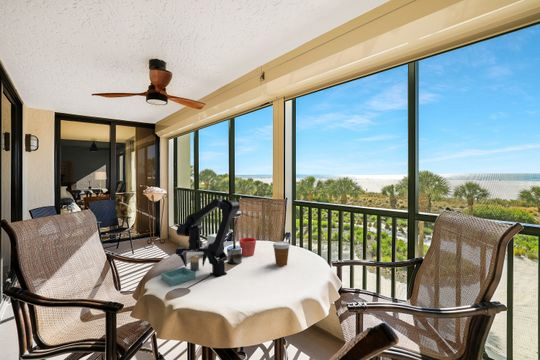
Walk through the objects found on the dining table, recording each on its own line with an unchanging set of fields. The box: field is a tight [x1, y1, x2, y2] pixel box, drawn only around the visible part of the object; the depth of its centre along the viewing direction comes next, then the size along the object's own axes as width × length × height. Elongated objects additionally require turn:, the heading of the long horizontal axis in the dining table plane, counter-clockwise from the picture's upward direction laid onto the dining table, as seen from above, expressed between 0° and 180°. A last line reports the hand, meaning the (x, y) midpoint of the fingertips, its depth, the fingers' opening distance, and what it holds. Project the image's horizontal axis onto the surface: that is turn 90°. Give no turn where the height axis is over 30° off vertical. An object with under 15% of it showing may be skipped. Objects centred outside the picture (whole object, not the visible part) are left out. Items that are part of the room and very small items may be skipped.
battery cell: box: [189, 255, 200, 272], centre depth 134 cm, size 4×4×7 cm
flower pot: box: [238, 237, 257, 257], centre depth 160 cm, size 11×11×10 cm
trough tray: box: [160, 266, 197, 287], centre depth 121 cm, size 12×12×3 cm
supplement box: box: [206, 233, 217, 246], centre depth 161 cm, size 7×7×13 cm
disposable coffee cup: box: [272, 240, 290, 267], centre depth 141 cm, size 10×10×12 cm
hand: (194, 266), depth 134 cm, fingers open, 9 cm apart
